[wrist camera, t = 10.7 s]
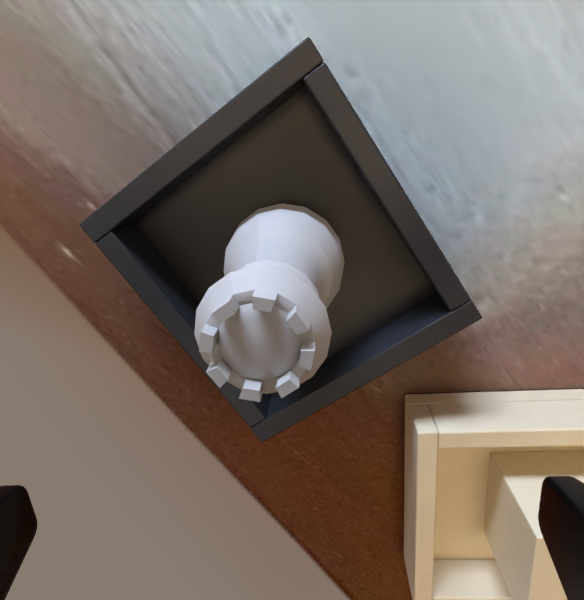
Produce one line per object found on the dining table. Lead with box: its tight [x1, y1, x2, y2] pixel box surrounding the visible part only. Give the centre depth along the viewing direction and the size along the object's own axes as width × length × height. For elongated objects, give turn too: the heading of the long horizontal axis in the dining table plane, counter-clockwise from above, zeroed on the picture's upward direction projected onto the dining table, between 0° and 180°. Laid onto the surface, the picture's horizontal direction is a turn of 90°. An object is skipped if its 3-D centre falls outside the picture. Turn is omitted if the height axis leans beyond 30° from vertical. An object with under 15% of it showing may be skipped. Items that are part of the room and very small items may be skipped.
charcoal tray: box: [80, 37, 482, 442], centre depth 16 cm, size 11×10×3 cm
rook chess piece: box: [194, 203, 345, 402], centre depth 13 cm, size 4×4×8 cm
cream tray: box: [404, 389, 584, 600], centre depth 19 cm, size 12×10×3 cm
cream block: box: [484, 451, 584, 600], centre depth 18 cm, size 4×4×4 cm
